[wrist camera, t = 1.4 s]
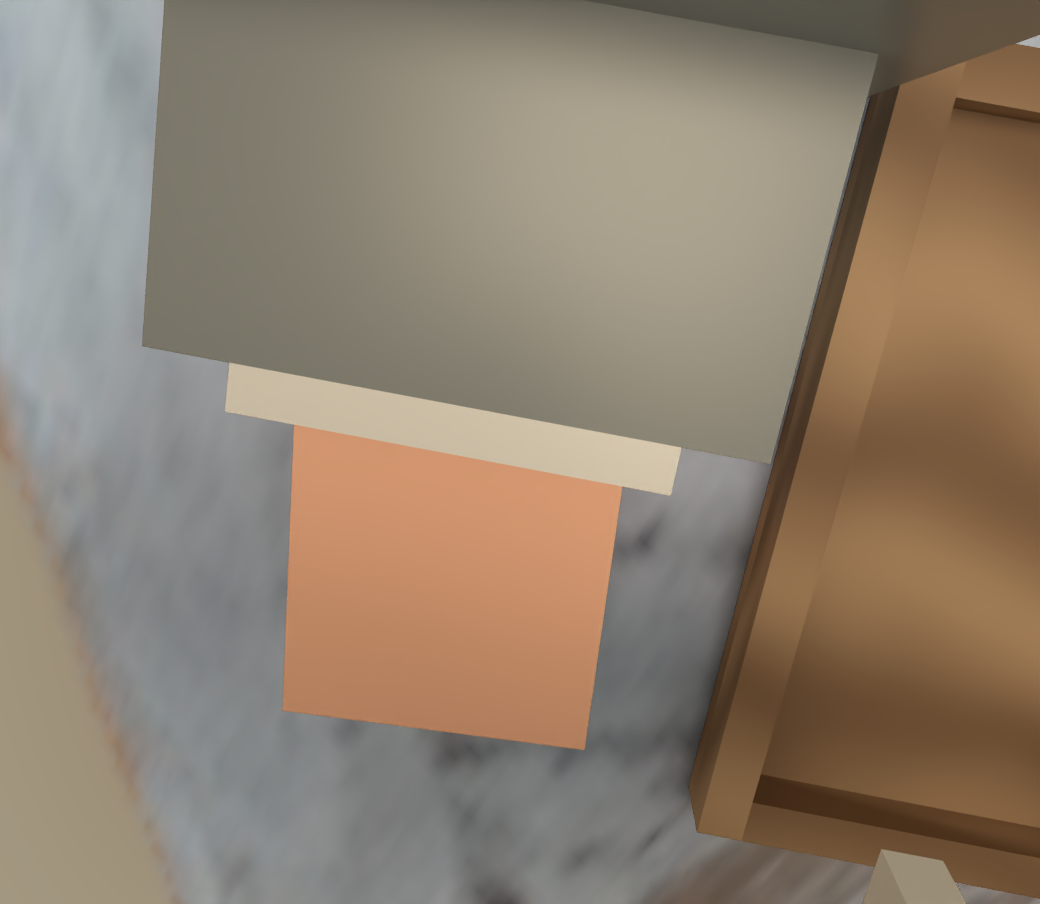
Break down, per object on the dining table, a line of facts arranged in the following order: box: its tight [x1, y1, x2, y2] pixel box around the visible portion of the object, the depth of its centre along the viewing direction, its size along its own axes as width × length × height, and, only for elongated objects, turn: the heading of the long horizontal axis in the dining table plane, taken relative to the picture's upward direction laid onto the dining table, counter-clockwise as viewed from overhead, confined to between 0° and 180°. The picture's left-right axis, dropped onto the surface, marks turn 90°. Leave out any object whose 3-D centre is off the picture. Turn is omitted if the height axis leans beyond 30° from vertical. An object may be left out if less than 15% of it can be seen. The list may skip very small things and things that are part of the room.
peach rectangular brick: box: [282, 425, 622, 750], centre depth 20 cm, size 12×6×8 cm, turn 174°
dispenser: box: [142, 0, 1040, 496], centre depth 15 cm, size 13×12×14 cm
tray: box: [688, 44, 1040, 899], centre depth 23 cm, size 20×11×2 cm, turn 170°
